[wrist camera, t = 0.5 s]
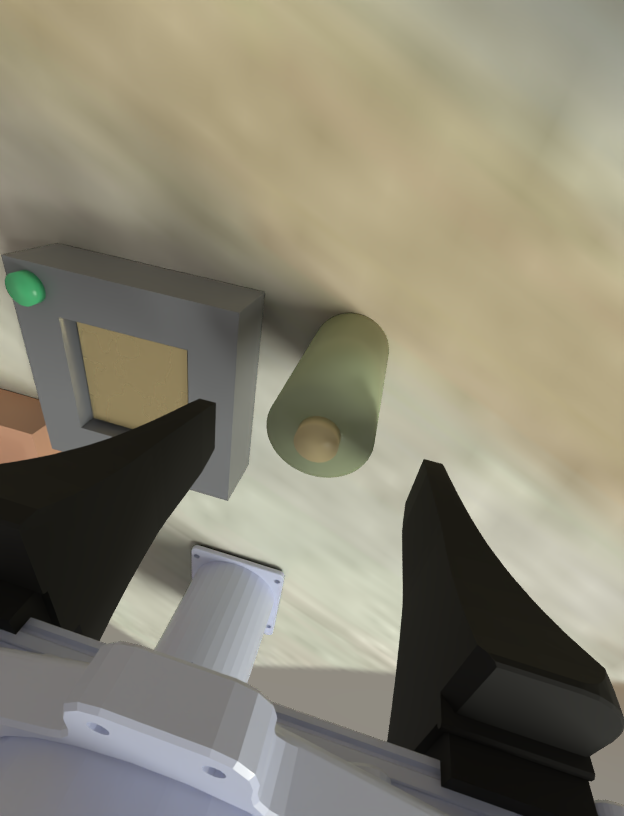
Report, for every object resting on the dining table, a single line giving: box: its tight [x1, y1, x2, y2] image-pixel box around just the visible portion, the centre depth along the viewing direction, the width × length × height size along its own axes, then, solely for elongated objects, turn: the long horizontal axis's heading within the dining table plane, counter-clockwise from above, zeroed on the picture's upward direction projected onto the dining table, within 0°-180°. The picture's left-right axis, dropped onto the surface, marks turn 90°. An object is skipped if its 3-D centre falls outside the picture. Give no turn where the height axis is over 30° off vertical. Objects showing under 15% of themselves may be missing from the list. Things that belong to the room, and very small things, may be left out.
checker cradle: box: [1, 243, 265, 501], centre depth 23 cm, size 12×12×4 cm
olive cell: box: [267, 313, 389, 478], centre depth 17 cm, size 4×4×9 cm
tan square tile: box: [77, 322, 188, 429], centre depth 22 cm, size 6×6×1 cm
